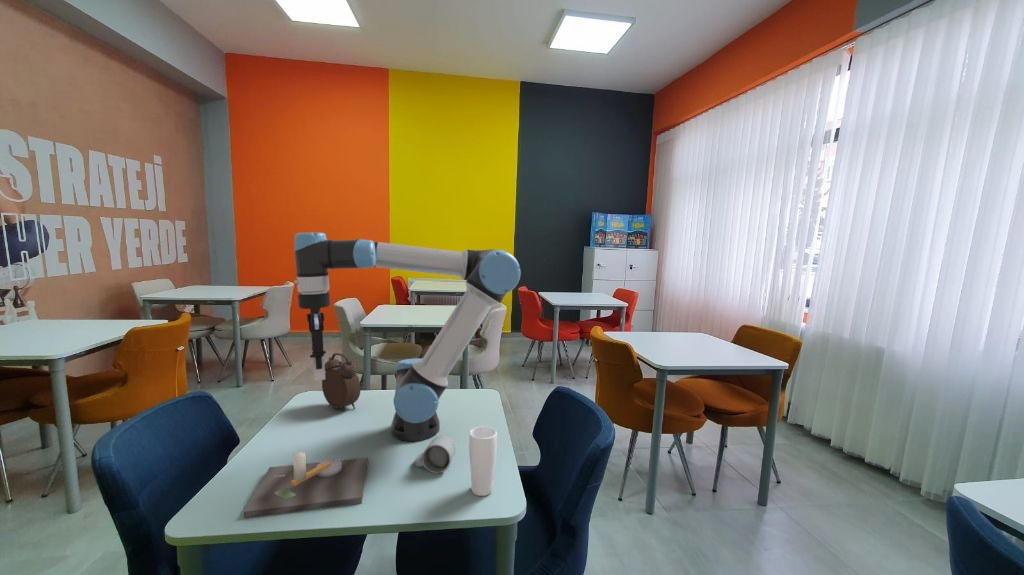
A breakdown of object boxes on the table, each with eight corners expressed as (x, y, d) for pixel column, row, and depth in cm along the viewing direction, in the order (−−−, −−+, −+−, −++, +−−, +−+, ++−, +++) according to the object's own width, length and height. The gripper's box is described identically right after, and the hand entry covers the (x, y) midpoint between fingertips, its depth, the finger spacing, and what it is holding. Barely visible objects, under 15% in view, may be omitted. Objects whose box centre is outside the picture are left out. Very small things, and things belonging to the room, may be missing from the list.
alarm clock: (364, 409, 148) (363, 354, 145) (346, 416, 141) (345, 359, 139) (338, 400, 155) (336, 348, 153) (320, 406, 149) (318, 352, 147)
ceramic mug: (456, 458, 116) (456, 431, 115) (450, 474, 108) (450, 446, 107) (419, 456, 117) (419, 430, 116) (410, 472, 109) (410, 444, 108)
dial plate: (368, 462, 113) (368, 457, 113) (361, 503, 95) (361, 496, 95) (270, 472, 107) (269, 466, 107) (243, 518, 89) (243, 511, 89)
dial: (331, 462, 110) (330, 432, 109) (347, 468, 107) (346, 437, 106) (284, 487, 98) (283, 454, 97) (301, 495, 95) (300, 461, 94)
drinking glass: (499, 496, 99) (500, 437, 98) (471, 501, 97) (472, 440, 96) (492, 480, 106) (493, 424, 104) (466, 484, 104) (466, 427, 102)
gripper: (297, 290, 112) (303, 374, 115) (297, 296, 101) (304, 389, 104) (327, 288, 116) (333, 370, 118) (331, 294, 104) (336, 384, 107)
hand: (319, 379), depth 111 cm, fingers closed
